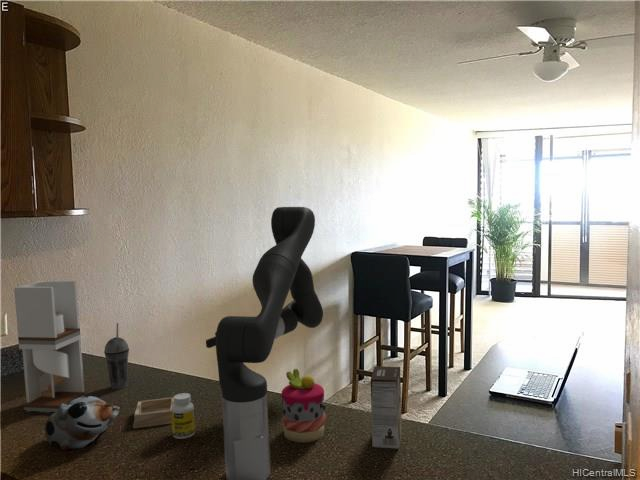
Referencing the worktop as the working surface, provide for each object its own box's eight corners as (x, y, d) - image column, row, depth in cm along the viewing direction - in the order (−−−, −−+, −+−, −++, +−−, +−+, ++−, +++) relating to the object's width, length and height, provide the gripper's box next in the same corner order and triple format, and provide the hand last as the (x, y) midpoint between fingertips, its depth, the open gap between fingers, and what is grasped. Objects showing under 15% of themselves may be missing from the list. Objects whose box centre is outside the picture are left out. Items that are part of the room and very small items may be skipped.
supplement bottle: (172, 441, 122) (170, 401, 121) (172, 431, 127) (170, 393, 127) (195, 437, 124) (193, 398, 123) (195, 428, 129) (192, 390, 128)
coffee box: (375, 429, 125) (373, 365, 124) (401, 431, 124) (400, 366, 122) (371, 447, 116) (369, 378, 115) (400, 449, 115) (398, 379, 113)
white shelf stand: (24, 411, 143) (14, 287, 140) (50, 396, 153) (41, 281, 150) (60, 412, 141) (51, 287, 138) (84, 397, 151) (76, 280, 148)
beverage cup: (101, 390, 157) (96, 326, 156) (117, 381, 164) (112, 320, 162) (121, 392, 155) (116, 327, 153) (136, 383, 162) (132, 321, 160)
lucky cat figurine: (107, 421, 134) (122, 380, 130) (108, 458, 124) (125, 414, 120) (44, 418, 127) (58, 374, 123) (40, 457, 117) (55, 411, 113)
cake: (330, 425, 128) (328, 366, 127) (319, 445, 118) (317, 382, 117) (290, 421, 131) (288, 364, 130) (276, 440, 121) (273, 379, 120)
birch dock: (175, 422, 132) (174, 411, 132) (133, 428, 130) (132, 416, 130) (177, 406, 143) (176, 395, 143) (137, 410, 141) (137, 400, 140)
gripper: (247, 311, 147) (198, 328, 135) (280, 320, 137) (231, 339, 126) (249, 336, 148) (202, 355, 137) (282, 347, 138) (234, 368, 127)
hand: (216, 347), depth 131 cm, fingers open, 8 cm apart
